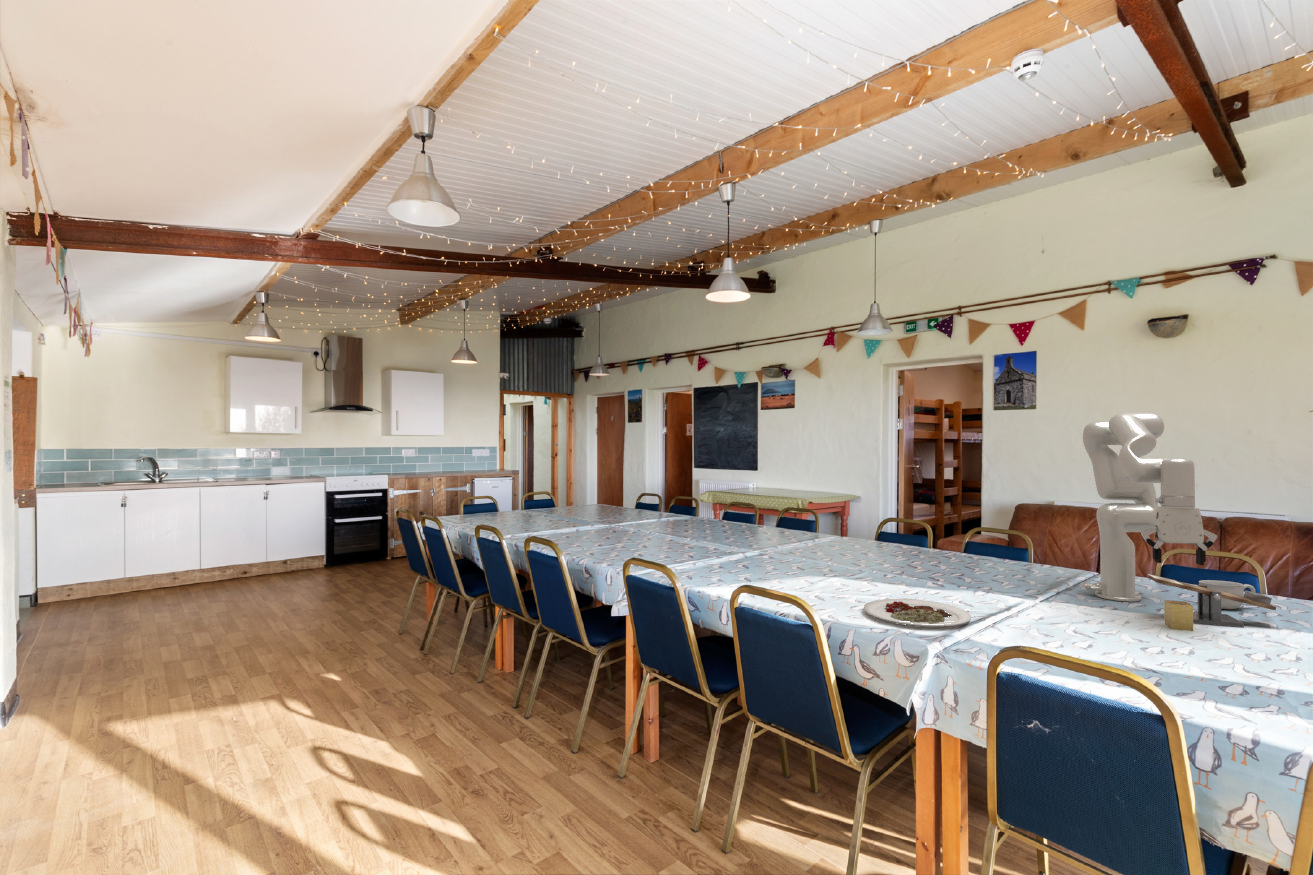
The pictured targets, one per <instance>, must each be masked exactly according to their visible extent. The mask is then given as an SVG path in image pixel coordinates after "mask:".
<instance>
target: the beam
mask: <svg viewBox="0 0 1313 875" xmlns="http://www.w3.org/2000/svg"><path fill="white" fill-rule="evenodd" d="M1147 576H1148V577H1147V578H1148V579H1150V580H1151V581H1153V582H1155V583H1158V584H1161V585H1166V586H1168V587H1169V586H1170V587H1175V588H1178V589H1183V590H1187V591H1189V592H1190V591H1192V592H1195V593H1198V592H1199V593H1203V594H1207V595H1211V591H1217V590H1213V589H1208V588H1204V587H1200V586H1197V584H1196V585H1195V584H1191V583H1187V582H1181V581H1178V580H1175V579H1170V578H1167V577H1162V576H1157V575H1154V574H1149V573H1147ZM1219 592H1221V591H1219ZM1221 597H1222V598H1224V599H1229V600H1233V601H1237V602H1241V603H1243V604H1247V605H1250V606H1256V607H1257V608H1258V607H1259V608H1264V609H1268V610H1272V611H1276V610H1277V607H1276V605H1275V606H1274V605H1273V604H1271V603H1272V599H1273V598H1271V596H1270V597H1269V596H1267V595H1265V594H1262V593H1257V592H1255V593H1254V592H1251V590H1245V589H1244V597H1243V596H1239V595H1234V594H1230V593H1226V592H1221Z"/></svg>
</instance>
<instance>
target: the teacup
mask: <svg viewBox="0 0 1313 875" xmlns="http://www.w3.org/2000/svg"><path fill="white" fill-rule="evenodd" d="M1198 585H1207V588H1208V589H1213V590H1217V591H1221V592H1226V593H1230V594H1234V595H1239V596H1243V597H1244V594H1245V589H1246V588H1248V589H1249V591H1250V592H1254V593H1256V588H1255V587H1254V586H1253V585H1251V584H1247V583H1245V584H1243V583H1240V582H1234V581H1226V580H1211V579H1207V580H1204V579H1203V580H1202V579H1201V580H1199V581H1198ZM1243 604H1244V603H1241V602H1237V601H1233V600H1229V599H1224V598H1222V599H1221V610H1236V609H1238V608H1239V607H1241V606H1243Z"/></svg>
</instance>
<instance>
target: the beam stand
mask: <svg viewBox="0 0 1313 875" xmlns="http://www.w3.org/2000/svg"><path fill="white" fill-rule="evenodd" d="M1196 586H1200V587H1204V588H1207V585H1199V584H1196ZM1221 599H1222V597H1221V592H1219V591H1211V595H1207V594H1203V593H1199V592H1197V611H1193V625H1205V626H1206V625H1208V626H1217V627H1218V626H1219V627H1231V628H1233V627H1234V628H1242V629H1243V628H1245V625H1244V622H1242V621H1240V620H1238V619H1236V618H1235V617H1232V616H1231V615H1229V614H1226V613H1222V609H1221Z"/></svg>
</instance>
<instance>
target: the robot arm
mask: <svg viewBox="0 0 1313 875" xmlns="http://www.w3.org/2000/svg"><path fill="white" fill-rule="evenodd" d="M1164 430H1165V422H1164V420H1163V418H1162V417H1161V416H1160V415H1159V414H1157V413H1154V412H1151V411H1150V412H1145V411H1144V412H1143V411H1142V412H1120V413H1117V414H1115V415H1113V416H1112V417H1111V418H1110V419H1109V420H1096V421H1092V422H1089V423H1087V424H1086V425H1085V426H1084V428H1083V431H1082V443H1083V446H1084V449H1085V451H1086V453H1087V454H1088V457H1089V459H1090V461H1091V466H1092V470H1093V476H1094V481H1095V482H1094V483H1095V486H1096V491H1097V494H1098V496H1099V497H1100V498H1101V499H1103V500H1106V501H1110V500H1111V501H1132V502H1134V503H1131V502H1130V503H1129V502H1109V503H1108V502H1107V503H1104V504H1102V505H1100V506H1098V507H1097V510H1096V515H1095V516H1096V522H1097V525H1098V526H1097V527H1098V530H1099V554H1100V556H1099V557H1100V562H1099V564H1100V566H1099V567H1100V568H1099V569H1100V580H1097V582H1095V583H1088V582H1087V583H1086V582H1084V583H1083V588H1084V589H1085V590H1091V591H1095V592H1094V596H1096V597H1099V598H1101V599H1104V600H1109V601H1117V602H1129V603H1131V602H1132V603H1133V602H1134V603H1135V602H1140V601H1142V596H1141V595H1140V594H1138V593H1136V546H1135V544H1134V541H1133V540H1132V539H1131V538H1130V537H1129V536H1128V534H1127V533H1140V535H1141V537H1142V538H1143V539H1144V541H1145V543H1147V544H1148V545H1149V546H1150V547H1151V549H1152V559H1153V560H1154V562H1155V563H1157V564H1162V561H1163V560H1162V558H1163V557H1162V554H1163V553H1162V548H1161V547H1162V546H1163V545H1164V544H1165V543H1167V544H1187V545H1194V546H1195V547H1196V549H1195V564H1197V565H1200V566H1204V565H1205V563H1206V560H1207V558H1206V555H1207V554H1206V552H1207V551H1208V549H1209V548H1211V547H1212V546H1213V545H1214V543H1215V541H1216V540H1217V539H1218V535H1217V534H1215V533H1213V532H1211V531H1208V530H1206V529H1205V528H1204V525H1203V519H1202V514H1201V511H1200V508H1199V507H1196V483H1195V482H1196V480H1195V478H1196V476H1195V463H1194V461H1193V460H1192V459H1190V458H1189V459H1188V458H1176V457H1144V456H1146V455H1148V454H1150V453H1151V452H1152V451H1154V449H1155V448H1156V446H1157V439H1158V438H1159V437H1161V436H1162V435H1163V434H1164V432H1165V431H1164ZM1109 446H1122V447H1121V449H1120V451H1119V454H1117V452H1115V451H1114V450H1113V449H1112V448H1110V447H1109ZM1154 484H1160V495H1159V497H1157V492H1156V489H1155V488H1156V487H1155V486H1154ZM1159 504H1160V506H1159ZM1152 534H1154V538H1155V540H1152V539H1151V537H1150V535H1152ZM1205 536H1206V537H1208V538H1207V540H1205Z"/></svg>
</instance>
